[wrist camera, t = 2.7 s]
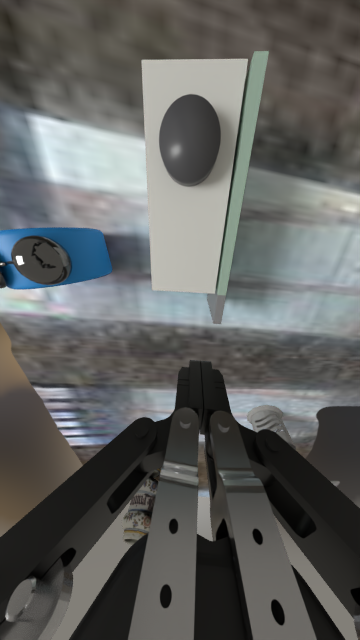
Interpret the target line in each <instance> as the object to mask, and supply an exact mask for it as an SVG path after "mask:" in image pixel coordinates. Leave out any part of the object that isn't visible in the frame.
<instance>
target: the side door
mask: <svg viewBox="0 0 360 640" xmlns="http://www.w3.org/2000/svg"><path fill="white" fill-rule="evenodd" d="M268 53H269V51H254V54H253V57H252V61H251V64H250V67H249V70H248V73H247V76H246V79H245V83H244V90H243V97H242V105H241V112H240V119H239V126H238V133H237V140H236V147H235V154H234V161H233V168H232V175H231V182H230V189H229V196H228V203H227V211H226V218H225V225H224V232H223V239H222V246H221V253H220V260H219V267H218V274H217V281H216V288H215V294H212V293H208V295H207V301H208V305H209V308H210V312H211V316H212V320H213V324H221V321H222V315H223V309H224V303H225V298H226V292H227V286H228V281H229V275H230V269H231V264H232V258H233V252H234V247H235V241H236V235H237V230H238V224H239V218H240V212H241V207H242V201H243V195H244V190H245V184H246V178H247V173H248V167H249V161H250V156H251V150H252V144H253V139H254V133H255V127H256V121H257V116H258V110H259V104H260V99H261V93H262V87H263V82H264V76H265V70H266V65H267V59H268Z"/></svg>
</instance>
